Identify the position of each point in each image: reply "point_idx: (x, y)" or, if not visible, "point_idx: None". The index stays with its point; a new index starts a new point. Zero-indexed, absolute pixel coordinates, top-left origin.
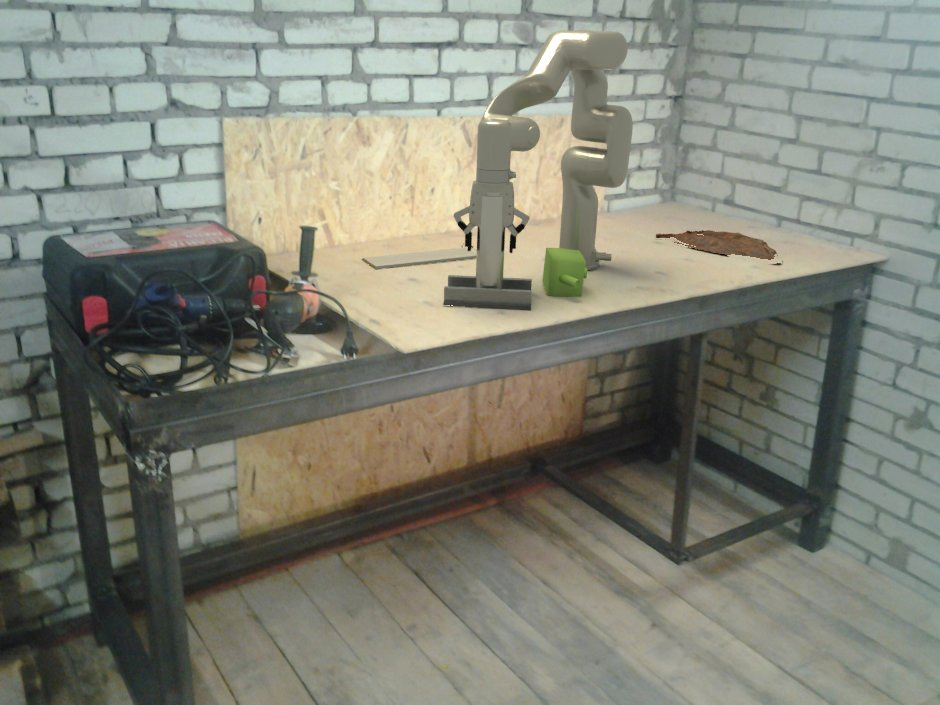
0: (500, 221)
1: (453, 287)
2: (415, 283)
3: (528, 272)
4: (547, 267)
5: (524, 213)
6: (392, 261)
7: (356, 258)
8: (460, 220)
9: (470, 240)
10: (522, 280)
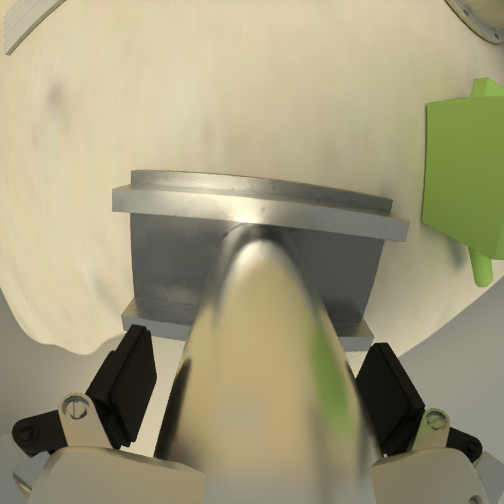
0: None
1: (146, 327)
2: (59, 127)
3: (387, 4)
4: (470, 175)
5: (498, 499)
6: (37, 4)
7: (3, 11)
8: (35, 469)
9: (140, 420)
10: (378, 237)
